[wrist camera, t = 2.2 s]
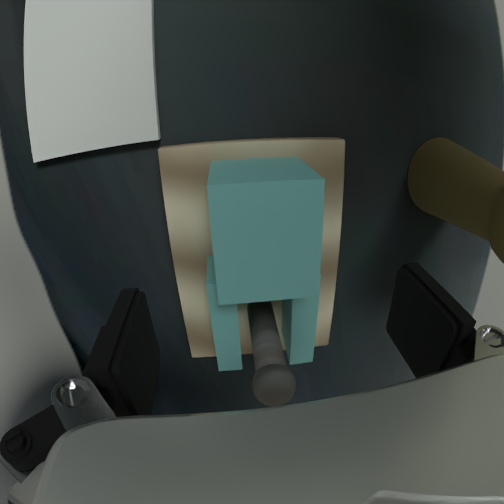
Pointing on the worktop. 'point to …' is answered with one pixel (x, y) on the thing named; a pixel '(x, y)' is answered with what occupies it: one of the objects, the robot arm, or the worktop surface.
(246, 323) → the stand
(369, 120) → the worktop surface
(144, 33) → the mat
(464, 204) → the cork
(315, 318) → the link
